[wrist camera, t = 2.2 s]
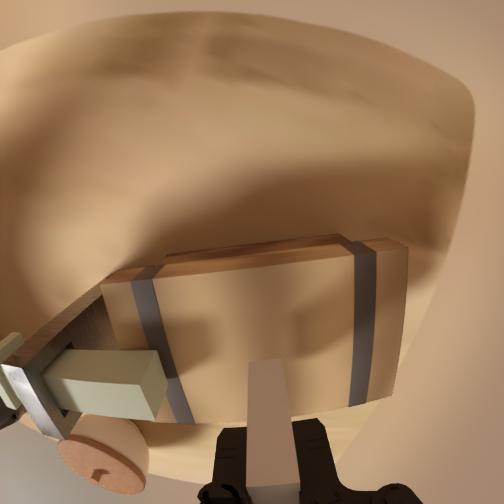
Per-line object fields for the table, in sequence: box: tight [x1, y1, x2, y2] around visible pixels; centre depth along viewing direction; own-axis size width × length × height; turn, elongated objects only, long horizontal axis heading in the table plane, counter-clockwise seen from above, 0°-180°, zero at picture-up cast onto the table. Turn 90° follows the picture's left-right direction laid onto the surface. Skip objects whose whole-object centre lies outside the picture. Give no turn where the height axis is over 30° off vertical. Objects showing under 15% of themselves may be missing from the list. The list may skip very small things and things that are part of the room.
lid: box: [100, 238, 408, 424], centre depth 16 cm, size 16×10×4 cm, turn 97°
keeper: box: [1, 278, 121, 441], centre depth 17 cm, size 2×5×14 cm, turn 7°
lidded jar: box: [58, 414, 149, 494], centre depth 24 cm, size 11×11×9 cm
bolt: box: [0, 332, 168, 421], centre depth 13 cm, size 12×4×4 cm, turn 97°
